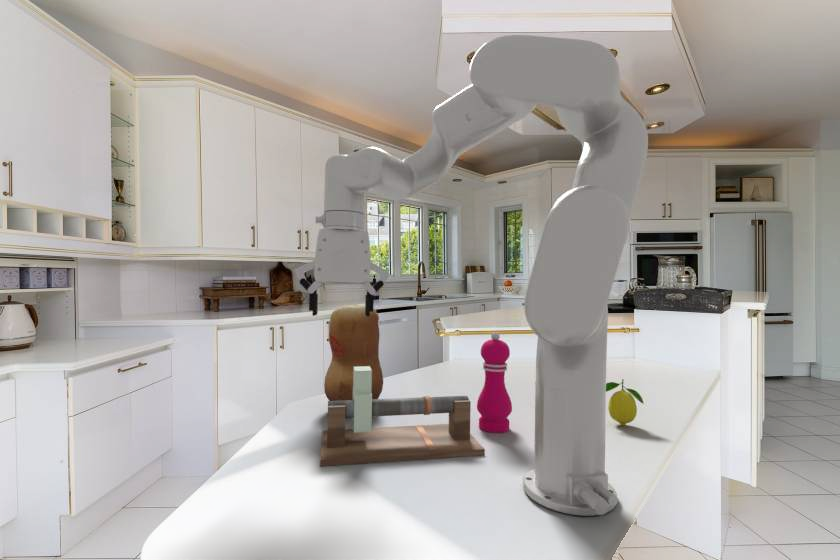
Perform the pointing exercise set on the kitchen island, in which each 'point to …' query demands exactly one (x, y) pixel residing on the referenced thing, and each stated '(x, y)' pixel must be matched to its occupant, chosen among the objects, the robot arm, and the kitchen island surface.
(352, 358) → the butternut squash
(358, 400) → the sleeve
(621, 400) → the lemon
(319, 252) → the robot arm
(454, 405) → the pipe stand
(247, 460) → the kitchen island surface
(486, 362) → the pepper mill
